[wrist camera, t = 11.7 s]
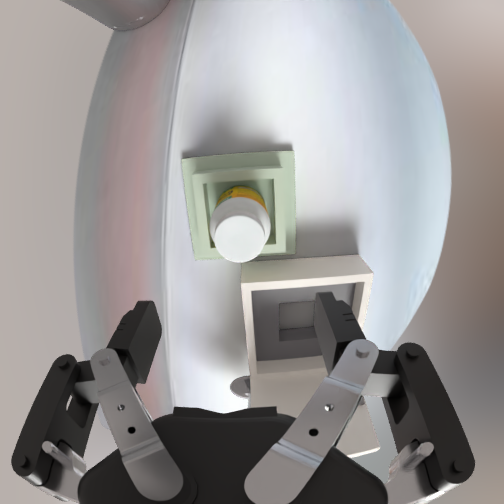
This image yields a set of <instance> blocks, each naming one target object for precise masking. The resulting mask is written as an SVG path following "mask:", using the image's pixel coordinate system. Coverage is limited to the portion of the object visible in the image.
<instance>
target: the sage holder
mask: <svg viewBox="0 0 504 504" xmlns="http://www.w3.org/2000/svg"><path fill="white" fill-rule="evenodd" d="M181 160H182V169H183V178H184V187H185V195H186V202H187V210H188V217H189V224H190V231H191V238H192V244H193V251H194V257H195V260H208V259H225V258H224V257H223V256H222V255H221V254H220V253H219V252H218V251H217V249H216V247H215V244H214V241H213V239H212V237H211V234H210V220H211V216H212V214H213V211H214V209H215V206H216V204H217V202H218V199H219V197H220V196H221V194H222V193H223V192H224V191H225V190H226V189H228V188H230V187H232V186H236V185H248V186H251V187H253V188H254V189H256V190H257V191H258V192H259V193H260V194H261V195H262V197H263V199H264V202H265V205H266V208H267V212H268V215H269V219H270V224H271V229H270V235H269V238H268V240H267V242H266V243H265V245H264V247H263V249H262V251H261V252H260V254H259V255H258V256H274V255H290V254H296V199H295V159H294V151H266V152H247V153H233V154H221V155H211V156H201V157H192V158H184V159H181ZM258 256H257V257H258Z"/></svg>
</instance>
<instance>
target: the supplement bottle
mask: <svg viewBox="0 0 504 504" xmlns="http://www.w3.org/2000/svg"><path fill="white" fill-rule="evenodd" d="M270 229H271V224H270V219H269V215H268V212H267V208H266V205H265V202H264V199H263V197H262V195H261V194H260V193H259V192H258V191H257V190H256V189H254V188H253V187H251V186H248V185H236V186H232V187H230V188H228V189H226V190H225V191H224V192H223V193H222V194H221V196H220V197H219V199H218V202H217V204H216V206H215V209H214V211H213V214H212V216H211V220H210V234H211V237H212V239H213V241H214V244H215V247H216V249H217V251H218V252H219V253H220V254H221V255H222V256H223V257H224V258H226V259H227V260H230V261H232V262H247V261H250V260H252V259H254V258H255V257H257V256H258V255H259V254H260V252H261V251H262V249H263V247H264V245H265V243H266V242H267V240H268V238H269V235H270Z"/></svg>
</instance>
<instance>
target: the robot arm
mask: <svg viewBox="0 0 504 504" xmlns="http://www.w3.org/2000/svg"><path fill="white" fill-rule="evenodd" d="M61 1H63V2H65V3H67V4H69V5H71V6H72V7H74V8H76V9H78V10H80V11H82V12H83V13H86V14H87V15H89V16H91V17H92V18H94V19H95V20H97V21H99V22H100V23H102V24H104V25H105V26H107V27H109V28H111V29H113V30H118V31H127V30H131V29H135V28H138V27H140V26H142V25H144V24H146V23H148V22H150V21H151V20H152V19H154V18H155V17H156V16H157V15H159V14H160V13H161V12H162V11H163V9H164V8H165V7H166V6H167V4H168V2H169V0H61ZM314 328H315V332H316V335H317V338H318V342H319V345H320V348H321V352H322V355H323V359H324V362H325V366H326V369H327V373H328V376H326V377H325V378H324V379H323V381H322V382H321V384H320V385H319V387H318V388H317V390H316V391H315V393H314V394H313V396H312V397H311V399H310V400H309V402H308V403H307V405H306V406H305V407H304V409H303V410H302V412H301V413H300V414H299V416H298V417H297V418H295V417H292V416H289V415H286V414H281V413H277V406H271V407H255V408H247V409H243V410H239V411H235V412H230V413H225V414H222V413H217V412H213V411H209V410H204V409H200V408H188V407H174V410H173V414H168V415H165V416H162V417H159V418H157V419H155V420H153V419H152V417H151V416H150V414H149V412H148V410H147V409H146V407H145V405H144V403H143V401H142V399H141V397H140V396H139V394H138V392H137V390H136V388H135V387H136V384H137V383H141V384H145V383H146V380H147V377H148V374H149V371H150V368H151V365H152V362H153V358H154V355H155V352H156V350H157V347H158V344H159V341H160V338H161V334H162V327H161V323H160V320H159V316H158V313H157V310H156V307H155V304H154V302H153V301H138V302H137V304H136V306H135V308H134V309H133V310H130V311H129V312H128V313H126V314H125V315H124V316H123V318H122V319H121V321H120V323H119V325H118V327H117V330H115V332H114V334H113V336H112V338H111V340H110V342H109V344H108V346H107V348H105V349H101V350H99V351H97V352H96V353H94V354H93V356H92V357H91V360H88V361H82V362H77V361H76V359H75V357H74V356H72V355H69V354H66V355H62V356H60V357H58V358H57V359H56V360H55V361H54V363H53V365H52V367H51V368H50V370H49V372H48V374H47V376H46V378H45V380H44V382H43V384H42V386H41V388H40V390H39V392H38V395H37V396H36V399H35V401H34V403H33V405H32V407H31V410H30V412H29V414H28V416H27V419H26V421H25V424H24V426H23V428H22V431H21V434H20V436H19V439H18V441H17V444H16V447H15V450H14V453H13V456H12V460H11V463H12V467H13V470H14V471H15V472H16V473H17V474H18V475H19V476H21V477H22V478H24V479H25V480H27V481H28V482H29V483H30V484H32V485H33V486H35V487H36V488H38V489H40V490H41V491H43V492H45V493H47V494H49V495H51V496H54V497H55V498H57V499H59V500H61V501H69V500H71V501H74V502H76V503H79V504H426V503H428V502H430V501H432V500H434V499H436V498H438V497H440V496H441V495H443V494H445V493H447V492H448V491H450V490H452V489H453V488H455V487H457V486H458V485H460V484H461V483H463V482H464V481H466V480H467V479H468V478H469V477H470V476H471V475H472V473H473V471H474V467H475V460H474V457H473V454H472V451H471V448H470V446H469V443H468V440H467V438H466V435H465V433H464V431H463V428H462V426H461V423H460V421H459V418H458V416H457V414H456V412H455V409H454V407H453V405H452V403H451V401H450V398H449V396H448V394H447V392H446V390H445V388H444V386H443V384H442V382H441V380H440V378H439V376H438V374H437V372H436V370H435V368H434V366H433V364H432V362H431V361H430V359H429V357H428V355H427V353H426V351H425V350H424V349H423V347H421V346H420V345H418V344H415V343H404V344H402V345H401V346H400V347H399V348H398V350H397V351H384V350H379V349H378V347H377V346H376V345H375V344H374V343H373V342H371V341H369V340H366V338H365V336H364V334H363V332H362V330H361V327H360V325H359V323H358V321H357V320H356V317H355V315H354V314H353V311H352V309H351V308H350V306H349V305H348V304H347V303H345V302H344V301H343V300H339V301H336V299H335V297H334V295H333V293H332V291H327V292H317V293H316V297H315V309H314ZM70 395H71V396H72V399H71V402H70V404H69V407H68V410H66V405H67V402H68V399H69V397H70ZM363 396H376V397H382V400H383V403H384V407H385V410H386V413H387V416H388V420H389V423H390V426H391V430H392V433H393V437H394V441H395V444H396V448H397V452H398V455H397V456H396V457H395V458H394V459H393V460H392V462H391V464H390V467H389V478H388V481H387V483H386V484H383V482H382V481H381V480H380V479H379V478H378V477H376V476H375V475H373V474H372V473H371V472H369V471H368V470H366V469H365V468H363V467H362V466H360V465H359V464H358V463H356V462H355V461H353V460H352V459H351V458H349V457H348V456H347V455H345V454H344V453H342V452H341V451H340V450H338V449H337V448H336V446H337V445H338V443H339V441H340V440H341V438H342V436H343V434H344V432H345V430H346V428H347V426H348V424H349V423H350V421H351V419H352V417H353V415H354V413H355V411H356V409H357V407H358V405H359V403H360V401H361V399H362V397H363ZM99 403H100V405H101V407H102V410H103V413H104V415H105V418H106V420H107V423H108V425H109V428H110V430H111V433H112V435H113V437H114V440H115V442H116V444H117V446H118V449H116V450H115V451H114V452H112V453H111V454H110V455H109V456H107V457H106V458H105V459H103V460H102V461H101V462H99V463H98V464H97V465H95V466H94V467H92V468H91V469H90V470H88V471H87V470H86V463H85V461H84V459H83V456H84V452H85V449H86V445H87V441H88V438H89V434H90V431H91V427H92V424H93V421H94V417H95V414H96V411H97V408H98V405H99Z"/></svg>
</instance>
